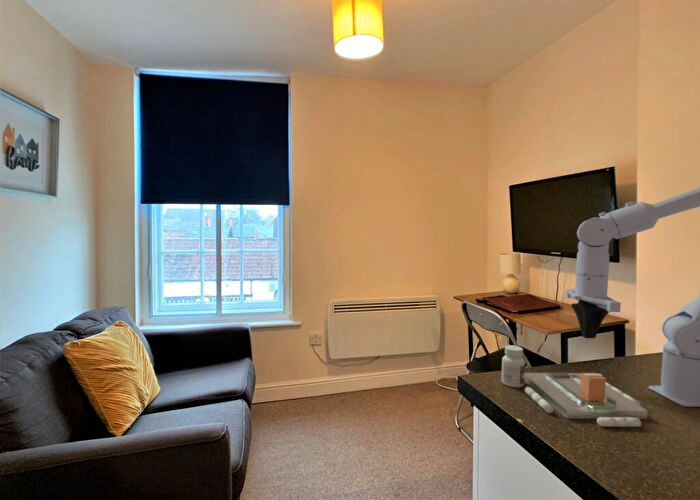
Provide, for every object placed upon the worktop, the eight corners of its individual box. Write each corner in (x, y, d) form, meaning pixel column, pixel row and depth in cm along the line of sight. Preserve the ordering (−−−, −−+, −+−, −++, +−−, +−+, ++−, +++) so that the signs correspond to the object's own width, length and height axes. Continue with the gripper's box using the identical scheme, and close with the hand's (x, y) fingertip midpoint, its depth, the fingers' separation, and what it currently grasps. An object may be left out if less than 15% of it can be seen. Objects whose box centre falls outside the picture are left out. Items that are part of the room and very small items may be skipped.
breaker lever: (595, 394, 68) (596, 371, 68) (604, 401, 65) (606, 377, 65) (579, 394, 68) (580, 371, 68) (588, 400, 65) (589, 377, 65)
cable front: (530, 392, 73) (530, 385, 73) (553, 413, 64) (553, 405, 64) (523, 392, 73) (523, 385, 73) (545, 413, 64) (545, 405, 64)
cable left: (634, 423, 61) (634, 415, 61) (640, 428, 60) (641, 420, 60) (594, 423, 61) (595, 415, 61) (600, 428, 60) (600, 420, 60)
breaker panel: (586, 379, 79) (586, 370, 79) (646, 419, 63) (647, 407, 63) (522, 379, 79) (522, 370, 79) (566, 418, 63) (567, 406, 63)
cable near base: (603, 385, 76) (603, 379, 76) (640, 408, 66) (640, 401, 66) (596, 385, 76) (596, 379, 76) (632, 408, 66) (633, 401, 66)
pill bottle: (526, 389, 74) (528, 352, 74) (503, 387, 75) (505, 350, 74) (521, 380, 78) (522, 345, 78) (499, 378, 79) (500, 343, 79)
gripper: (553, 270, 84) (551, 327, 85) (596, 279, 70) (592, 348, 71) (584, 270, 85) (581, 328, 85) (632, 280, 70) (628, 348, 71)
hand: (588, 337), depth 78 cm, fingers closed
